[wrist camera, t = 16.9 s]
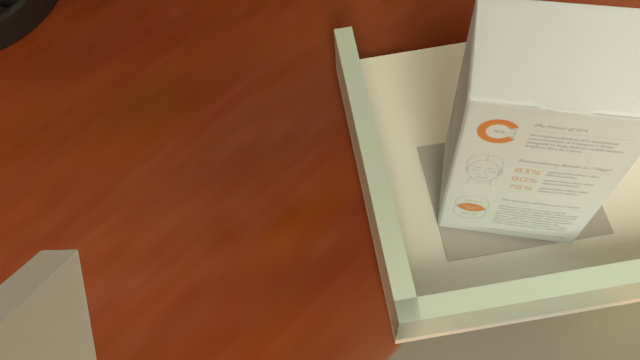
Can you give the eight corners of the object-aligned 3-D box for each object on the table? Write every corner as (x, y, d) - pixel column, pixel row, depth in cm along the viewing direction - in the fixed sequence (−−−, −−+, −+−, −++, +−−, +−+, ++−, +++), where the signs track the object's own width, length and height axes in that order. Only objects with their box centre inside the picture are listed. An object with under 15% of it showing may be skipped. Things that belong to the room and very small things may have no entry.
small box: (571, 154, 39) (659, 5, 27) (573, 246, 36) (672, 123, 24) (442, 139, 40) (475, -10, 28) (434, 227, 37) (466, 101, 25)
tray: (336, 70, 44) (333, 29, 40) (578, 30, 45) (598, -14, 41) (395, 343, 35) (399, 323, 31) (702, 290, 35) (744, 264, 31)
